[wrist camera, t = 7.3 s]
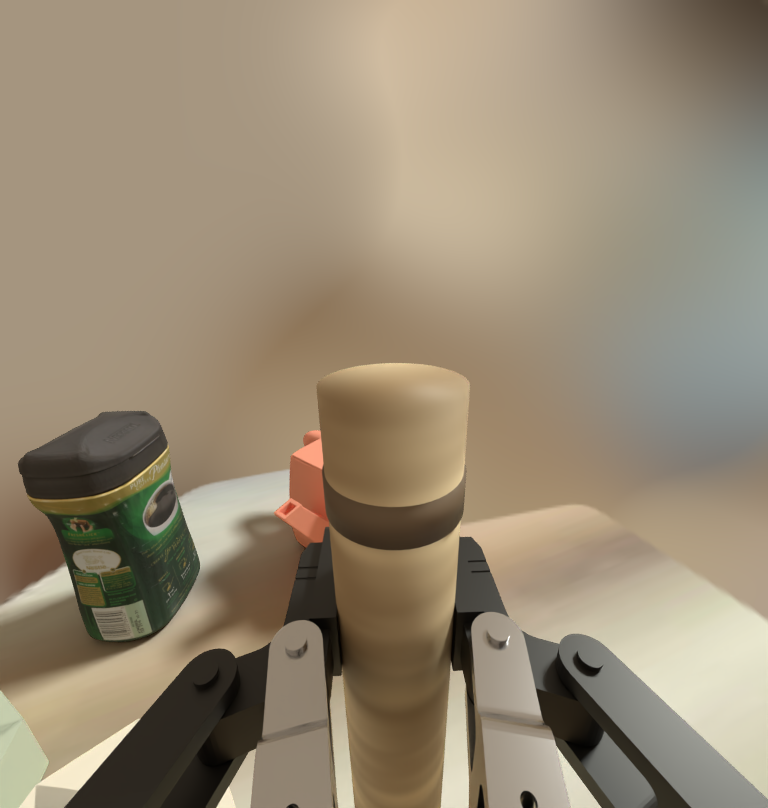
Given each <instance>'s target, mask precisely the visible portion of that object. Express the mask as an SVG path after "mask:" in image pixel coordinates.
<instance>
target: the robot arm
mask: <svg viewBox="0 0 768 808" xmlns="http://www.w3.org/2000/svg"><path fill="white" fill-rule="evenodd" d="M451 663H452V668H453V671H458V670H463V674H464V678H465V683H466V689H465V706H466V726H467V746H468V766H469V808H571V806H570V802H569V798H568V794H567V789H566V785H565V781H564V777H563V772H562V768H561V764H560V760H559V755H558V751H557V747H558V749H559V750H560V751H561V753H562V754H563V756H564V757H565V758H566V760H567V761H568V762H569V764H570V765H571V766H572V768H573V769H574V771H575V772H576V773H577V775H578V776H579V777H580V779H581V780H582V781H583V783H584V784H585V786H586V787H587V788H588V790H589V791H590V792H591V794H592V795H593V796H594V798H595V799H596V800H597V802H598V803H599V805H600V806H601V807H602V808H768V799H767V798H766V797H765V796H764V795H763V794H762V793H761V792H759V791H758V790H757V789H756V788H755V787H754V786H753V785H752V784H751V783H750V782H749V781H748V780H747V779H746V778H745V777H744V776H742V775H741V774H740V773H739V772H738V771H737V770H736V769H735V768H734V767H733V766H732V765H731V764H730V763H729V762H728V761H727V760H726V759H724V758H723V757H722V756H721V755H720V754H719V753H718V752H717V751H716V750H715V749H714V748H713V747H712V746H711V745H710V744H709V743H707V742H706V741H705V740H704V739H703V738H702V737H701V736H700V735H699V734H698V733H697V732H696V731H695V730H694V729H693V728H692V727H690V726H689V725H688V724H687V723H686V722H685V721H684V720H683V719H682V718H681V717H680V716H679V715H678V714H677V713H676V712H675V711H674V710H672V709H671V708H670V707H669V706H668V705H667V704H666V703H665V702H664V701H663V700H662V699H661V698H660V697H659V696H658V695H657V694H655V693H654V692H653V691H652V690H651V689H650V688H649V687H648V686H647V685H646V684H645V683H644V682H643V681H642V680H641V679H640V678H639V677H637V676H636V675H635V674H634V673H633V672H632V671H631V670H630V669H629V668H628V667H627V666H626V665H625V664H624V663H623V662H622V661H620V660H619V659H618V658H617V657H616V656H615V655H614V654H613V653H612V652H611V651H610V650H609V649H608V648H607V647H605V646H604V645H603V644H602V643H600V642H599V641H597V640H595V639H593V638H591V637H589V636H586V635H582V634H570V635H567V636H565V637H564V638H563V639H562V640H561V642H560V644H557V643H553V642H550V641H546V640H542V639H539V638H536V637H533V636H530V635H528V634H527V633H525V632H523V631H522V630H521V629H520V627H519V626H518V625H517V624H516V623H515V622H514V621H513V620H512V619H510V618H509V616H508V614H507V612H506V610H505V607H504V605H503V602H502V600H501V597H500V595H499V592H498V589H497V587H496V584H495V582H494V579H493V577H492V574H491V573H490V569H489V566H488V564H487V562H486V559H485V556H484V554H483V551H482V549H481V547H480V546H479V545H478V544H477V543H476V542H475V541H474V540H473V539H472V537H460V536H459V550H458V565H457V579H456V593H455V606H454V620H453V635H452V649H451ZM341 674H342V656H341V645H340V634H339V623H338V612H337V604H336V596H335V585H334V574H333V563H332V552H331V541H330V530H329V527H325V530H324V536H323V542H318V543H310V544H309V545H308V546H307V547H306V549H305V550H304V551H303V553H302V554H301V558H300V562H299V566H298V570H297V574H296V580H295V582H294V586H293V590H292V594H291V598H290V602H289V607H288V611H287V615H286V619H285V622H284V625H283V627H282V628H281V629H280V630H279V631H278V632H277V633H276V634H275V636H274V637H273V639H272V641H271V642H270V643H269V644H268V645H266V646H265V647H263V648H261V649H259V650H257V651H254V652H251V653H249V654H246V655H243V656H240V657H238V658H235V657H234V655H233V654H232V653H231V652H230V651H228V650H225V649H212V650H209V651H206V652H204V653H202V654H200V655H198V656H197V657H195V658H194V659H193V660H192V661H191V662H189V664H188V665H187V666H186V667H185V668H184V669H183V670H182V671H181V672H180V674H179V675H178V676H177V677H176V678H175V679H174V681H173V682H172V683H171V684H170V685H169V686H168V688H167V689H166V690H165V691H164V692H163V693H162V695H161V696H160V697H159V698H158V699H157V700H156V701H155V703H154V704H153V705H152V706H151V707H150V708H149V710H148V711H147V712H146V713H145V714H144V715H143V717H142V718H141V719H140V720H139V721H138V722H137V723H136V725H135V726H134V727H133V728H132V729H131V730H130V732H129V733H128V734H127V735H126V736H125V737H124V739H123V740H122V741H121V742H120V743H119V744H118V746H117V747H116V748H115V749H114V750H113V751H112V752H111V754H110V755H109V756H108V757H107V758H106V759H105V761H104V762H103V763H102V764H101V765H100V766H99V768H98V769H97V770H96V771H95V772H94V773H93V775H92V776H91V777H90V778H89V779H88V780H87V781H86V783H85V784H84V785H83V786H82V787H81V788H80V790H79V791H78V792H77V793H76V794H75V795H74V797H73V798H72V799H71V800H70V801H69V802H68V803H67V805H66V806H65V807H64V808H216V807H217V806H218V804H219V802H220V801H221V799H222V797H223V795H224V794H225V792H226V790H227V788H228V787H229V785H230V783H231V782H232V780H233V778H234V776H235V775H236V773H237V771H238V770H239V768H240V766H241V764H242V763H243V761H244V759H245V758H246V756H247V754H248V752H249V751H251V750H254V749H256V755H255V764H254V775H253V786H252V798H251V808H338V803H337V792H336V779H335V765H334V751H333V737H332V723H331V709H330V698H331V690H332V679H333V676H341ZM556 746H557V747H556Z"/></svg>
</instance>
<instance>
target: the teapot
mask: <svg viewBox="0 0 768 808" xmlns="http://www.w3.org/2000/svg"><path fill="white" fill-rule="evenodd" d="M303 442H304V446H305V447H303V448H301V449H300V450H298V451H296V452H295V453H293V455H292V456H291V462H290V499H289V500H288V501H287V502H286V503H285V504H283V505H282V506H281V507H280V508H279V509H277V510H276V511H275V512H274V514H275V515H276V516H277V517H279V518H280V519H282V520H283V521H284V522H286V523H287V524H289V525H290V526H292V528H293V532H294V534H295V537H296V540H297V541H298V542H299V543H300V544H301V545H303V546H304V547H305V548H306V547H307V546H308V545H309V544H310V543H318V542H323V536H324V530H325V527H329V520H328V518H327V515H326V509H325V499H324V488H323V477H322V467H323V453H322V442H321V431H317V430H316V431H310V432H308V433H306V434H305V436H304V438H303Z"/></svg>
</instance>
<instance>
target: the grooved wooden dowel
mask: <svg viewBox="0 0 768 808" xmlns="http://www.w3.org/2000/svg"><path fill="white" fill-rule="evenodd" d="M469 393H470V383H469V381H468V380H467V379H466V378H465V377H464V376H462V375H460V374H458V373H456V372H454V371H451V370H448V369H444V368H440V367H435V366H429V365H421V364H408V363H386V364H385V363H384V364H371V365H363V366H356V367H351V368H347V369H343V370H340V371H336V372H334V373H331V374H329V375H327V376H325V377H324V378H322V379H321V380H320V381H319V382H318V384H317V398H318V409H319V419H320V431H321V442H322V453H323V467H322V477H323V488H324V499H325V509H326V515H327V518H328V520H329V530H330V541H331V552H332V563H333V574H334V585H335V596H336V604H337V612H338V623H339V634H340V645H341V656H342V673H343V684H344V695H345V706H346V717H347V728H348V739H349V750H350V761H351V771H352V782H353V793H354V804H355V808H440V807H441V793H442V779H443V765H444V750H445V736H446V722H447V708H448V693H449V679H450V665H451V649H452V635H453V620H454V606H455V593H456V579H457V565H458V550H459V536H460V522H461V518H462V515H463V510H464V497H465V483H466V465H465V450H466V436H467V422H468V407H469Z"/></svg>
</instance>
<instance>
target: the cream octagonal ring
mask: <svg viewBox="0 0 768 808" xmlns="http://www.w3.org/2000/svg"><path fill="white" fill-rule="evenodd" d="M139 720H140V719H137V720H136V721H134V722H132V723H131V724H129V725H128V726H126V727H125V728H123V729H122V730H120V731H118V732H117V733H115V734H114V735H112V736H111V737H109V738H108V739H106V740H105V741H103V742H101V743H100V744H98V745H97V746H95V747H94V748H92V749H91V750H89V751H87V752H86V753H84V754H83V755H81V756H80V757H78V758H77V759H75V760H74V761H72V762H70V763H69V764H67V765H66V766H64V767H63V768H61V769H60V770H58V771H56V772H55V773H53V774H52V775H50V776H49V777H47V778H46V779H44V780H43V781H41V782H39V783H38V784H36V785H35V787H34V788H33V789H32V791H31V792H30V793H29V795H28V796H27V797H26V799H25V800H24V801H23V803H22V804H21V805H20V807H19V808H64V807H65V806H66V805H67V803H68V802H69V801H70V800H71V799H72V798H73V797H74V795H75V794H76V793H77V792H78V791H79V790H80V788H81V787H82V786H83V785H84V784H85V783H86V781H87V780H88V779H89V778H90V777H91V776H92V775H93V773H94V772H95V771H96V770H97V769H98V768H99V766H100V765H101V764H102V763H103V762H104V761H105V759H106V758H107V757H108V756H109V755H110V754H111V752H112V751H113V750H114V749H115V748H116V747H117V746H118V744H119V743H120V742H121V741H122V740H123V739H124V737H125V736H126V735H127V734H128V733H129V732H130V730H131V729H132V728H133V727H134V726H135V725H136V723H137V722H138V721H139ZM216 808H236V807H235V804H234V800H233V797H232V794H231V791H230V788H229V787H228V788H227V790H226V792H225V794H224V795H223V797H222V799H221V801H220V802H219V804H218V806H217V807H216Z"/></svg>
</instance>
